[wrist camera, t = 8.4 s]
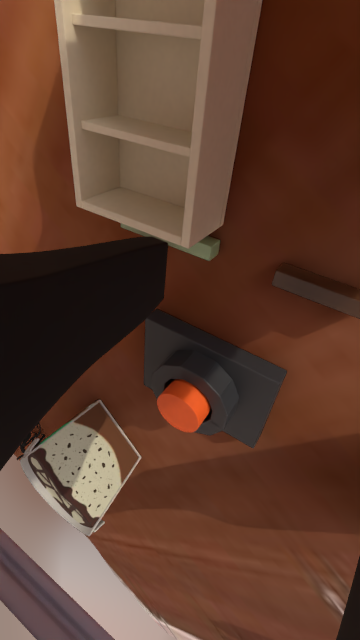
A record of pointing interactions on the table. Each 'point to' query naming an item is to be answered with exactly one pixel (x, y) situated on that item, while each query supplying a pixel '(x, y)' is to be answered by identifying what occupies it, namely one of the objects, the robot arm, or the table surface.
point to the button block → (212, 375)
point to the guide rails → (287, 278)
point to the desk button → (183, 405)
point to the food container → (82, 466)
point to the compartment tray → (156, 108)
